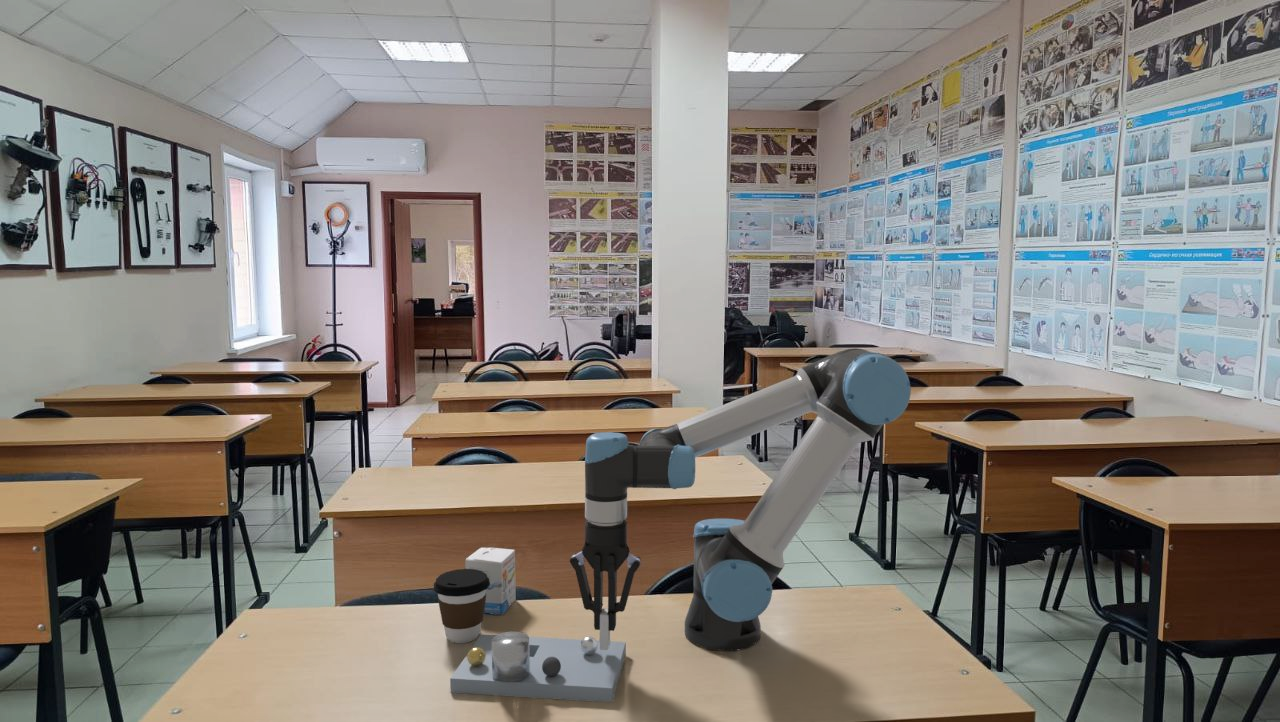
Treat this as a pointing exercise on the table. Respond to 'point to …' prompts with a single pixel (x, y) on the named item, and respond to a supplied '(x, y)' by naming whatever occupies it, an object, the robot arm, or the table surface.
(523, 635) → the shiny silver cylinder
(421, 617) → the table surface
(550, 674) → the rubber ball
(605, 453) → the robot arm
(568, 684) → the plate
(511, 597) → the ink box
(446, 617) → the coffee cup
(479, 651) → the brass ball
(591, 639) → the steel ball
